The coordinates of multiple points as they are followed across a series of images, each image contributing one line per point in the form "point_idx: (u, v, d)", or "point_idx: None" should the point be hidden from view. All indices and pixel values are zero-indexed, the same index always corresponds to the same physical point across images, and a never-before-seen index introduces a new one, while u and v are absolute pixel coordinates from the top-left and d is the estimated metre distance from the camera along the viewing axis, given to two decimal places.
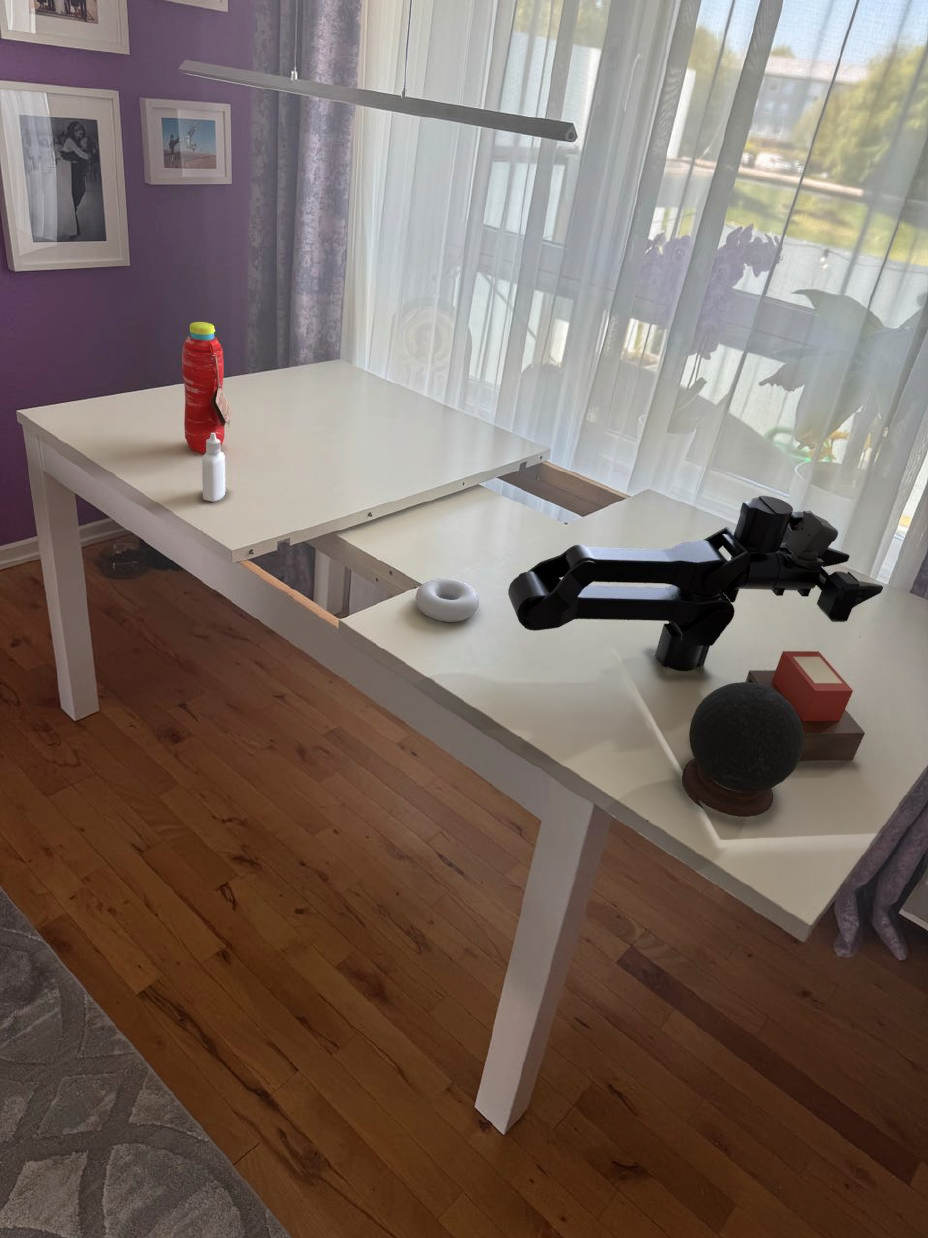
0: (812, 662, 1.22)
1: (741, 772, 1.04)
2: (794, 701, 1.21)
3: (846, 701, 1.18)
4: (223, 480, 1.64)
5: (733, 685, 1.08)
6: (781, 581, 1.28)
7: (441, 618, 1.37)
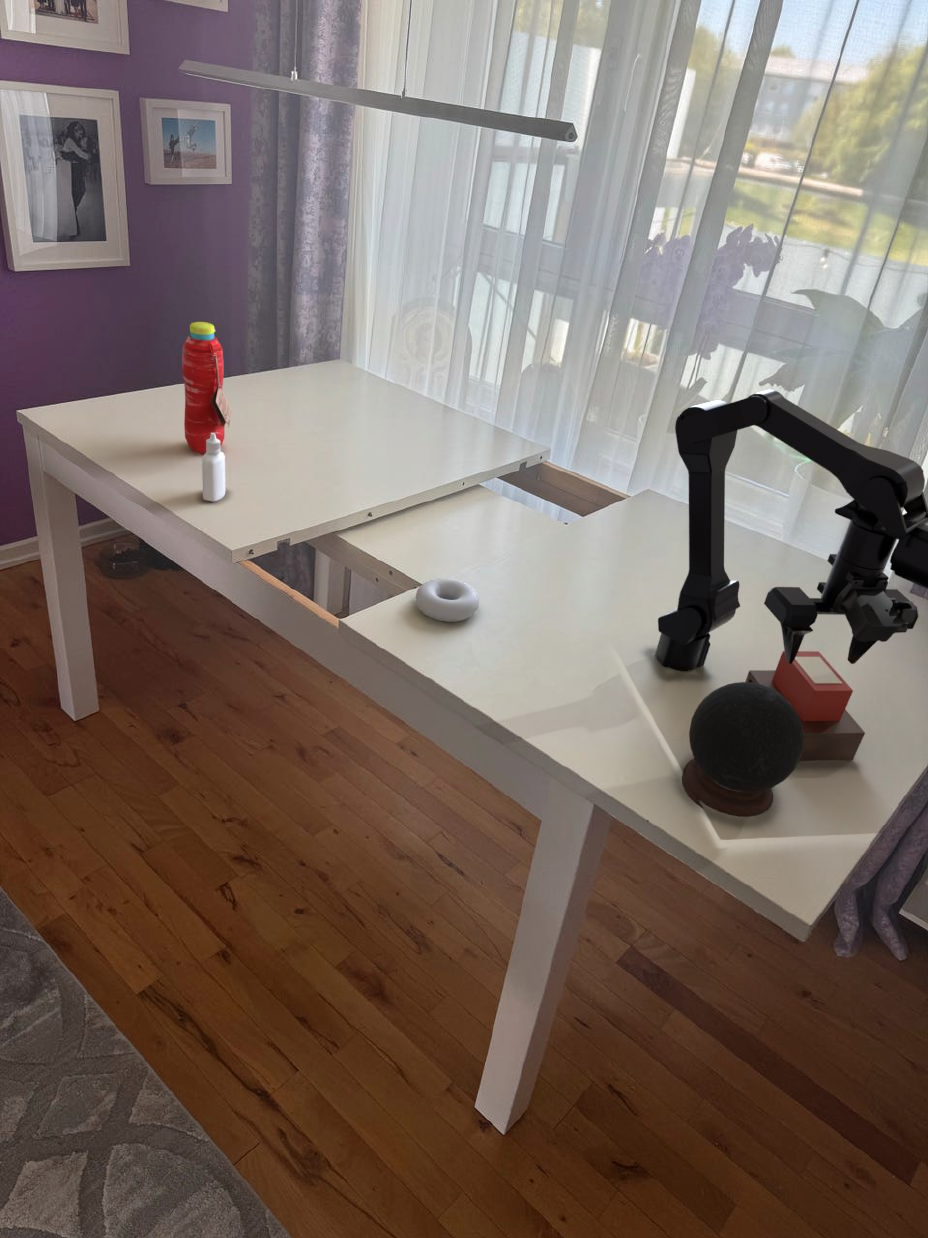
0: (812, 662, 1.22)
1: (741, 772, 1.04)
2: (794, 701, 1.21)
3: (846, 701, 1.18)
4: (223, 480, 1.64)
5: (733, 685, 1.08)
6: (838, 562, 1.12)
7: (441, 618, 1.37)
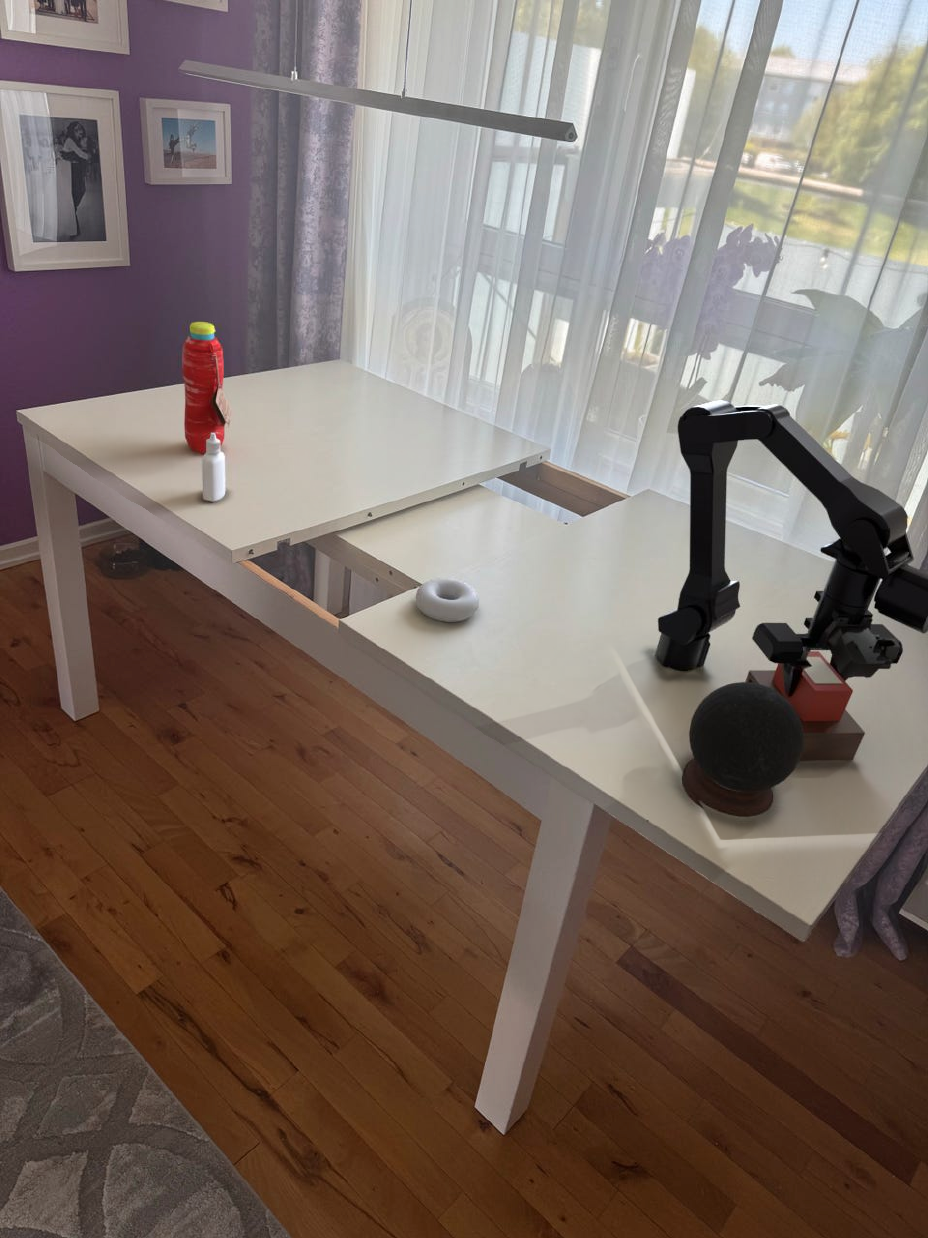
0: (812, 662, 1.22)
1: (741, 772, 1.04)
2: (794, 701, 1.21)
3: (846, 701, 1.18)
4: (223, 480, 1.64)
5: (733, 685, 1.08)
6: (824, 599, 1.14)
7: (441, 618, 1.37)
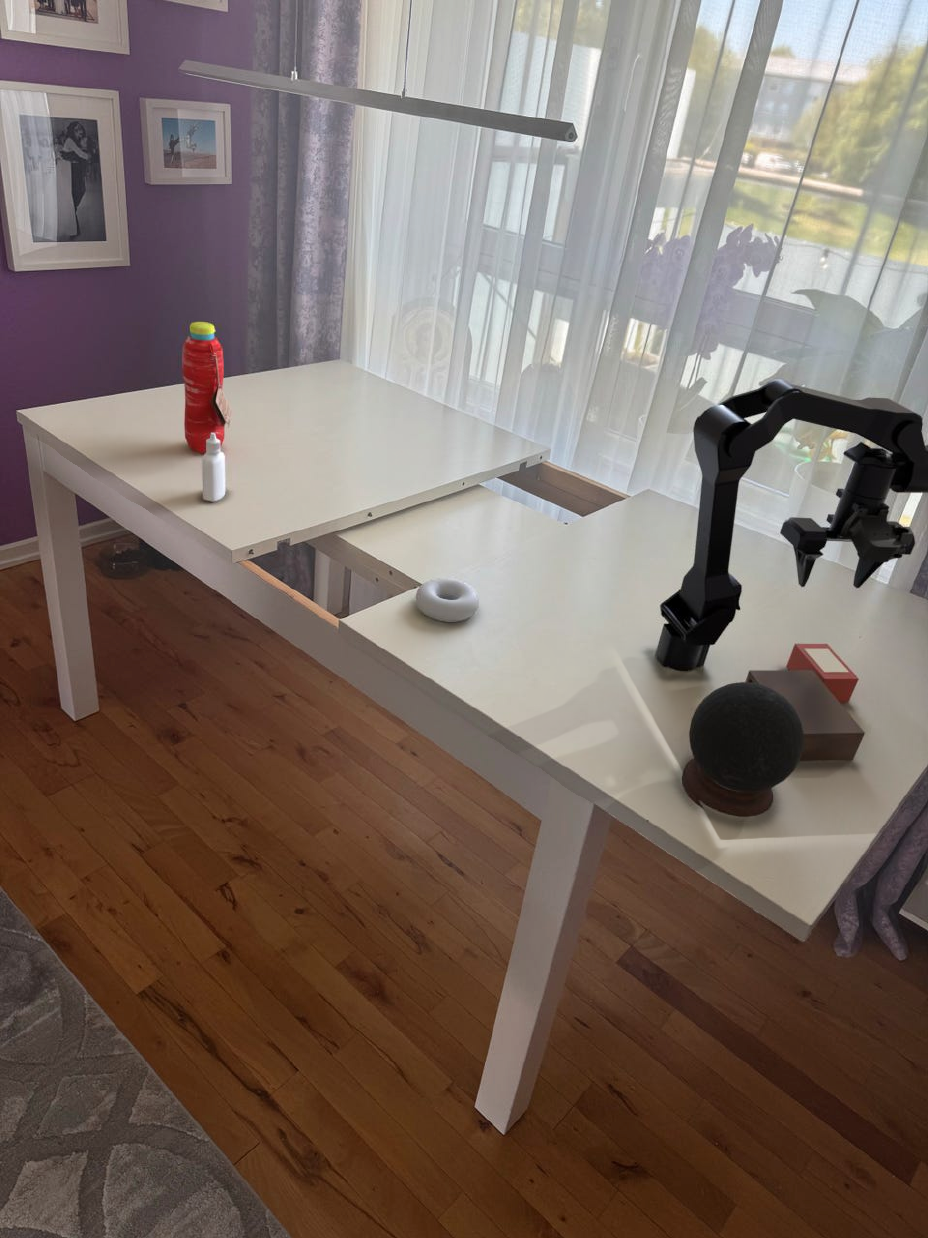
0: (821, 653, 1.35)
1: (741, 772, 1.04)
2: None
3: (852, 688, 1.31)
4: (223, 480, 1.64)
5: (733, 685, 1.08)
6: (845, 494, 1.28)
7: (441, 618, 1.37)
